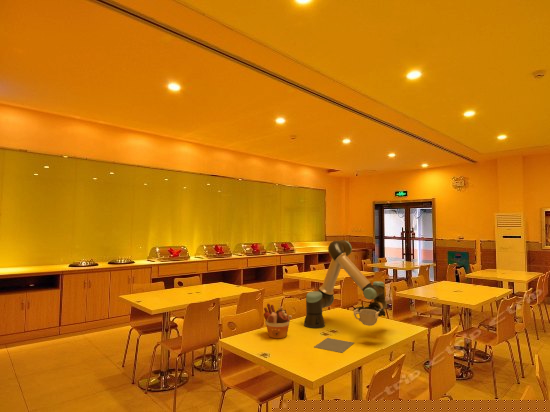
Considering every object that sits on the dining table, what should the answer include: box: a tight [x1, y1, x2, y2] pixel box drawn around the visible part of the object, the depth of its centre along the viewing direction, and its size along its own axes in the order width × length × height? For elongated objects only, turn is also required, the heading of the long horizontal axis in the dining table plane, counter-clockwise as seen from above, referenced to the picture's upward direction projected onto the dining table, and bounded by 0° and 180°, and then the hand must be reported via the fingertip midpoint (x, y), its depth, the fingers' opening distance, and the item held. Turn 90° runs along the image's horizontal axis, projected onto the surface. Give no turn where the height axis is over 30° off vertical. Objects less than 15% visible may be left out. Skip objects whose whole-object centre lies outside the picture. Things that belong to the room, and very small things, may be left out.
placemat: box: [313, 337, 355, 354], centre depth 204 cm, size 18×20×1 cm
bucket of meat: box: [263, 303, 293, 340], centre depth 223 cm, size 20×16×20 cm
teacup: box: [353, 309, 378, 327], centre depth 208 cm, size 14×11×8 cm
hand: (364, 314), depth 205 cm, fingers closed on teacup, 13 cm apart
